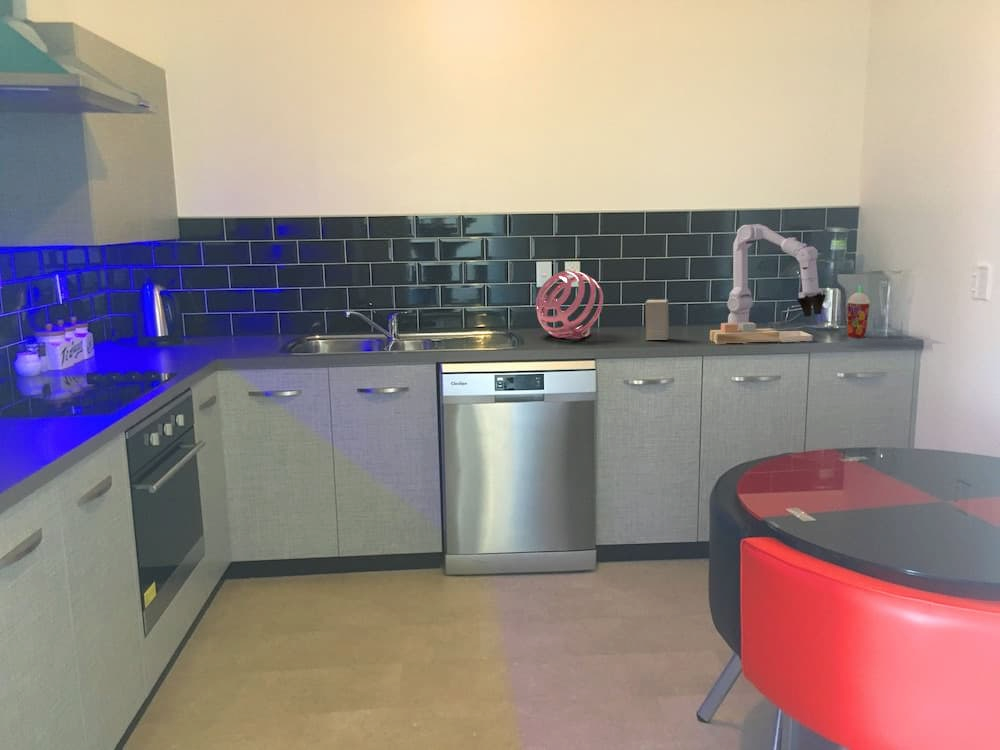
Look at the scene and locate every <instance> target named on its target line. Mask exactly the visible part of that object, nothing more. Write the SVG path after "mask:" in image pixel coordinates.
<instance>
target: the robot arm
mask: <svg viewBox="0 0 1000 750" xmlns="http://www.w3.org/2000/svg"><path fill="white" fill-rule="evenodd" d="M762 239H764V240H766V241H768V242H771V243H773V244H775V245H777V246H780V247H781V250H782V252H784V253H786V254H788V255H789V256H792V257H793V258H796V261H798V263H799V267H800V277H801V278H800V279H801V287H802V288H801V289H802V291H801V292H798V298H796V300H797V302H798V304H799V306H800V307H801V310H802V312H803V315H804V317H807V318H808V317H811V316H812V309H813V313H814V315H822V314H821V313H822V308H823V304H824V301H825V298H826V294H824V291H823V288H822V289H821V288H819V287H820V286H819V277H818V265H817V259H818V258H819V251H818V249H817V248H815V246H812V245H811V246H808V244H807V243H802V242H801V241H798V240H797V238H796V237H787V238H786V237H784V236H782V235H780V234H779V233H777V232H775V231H773V230H772V229H770V228H768V226H766V225H763V224H761V223H756V224H755V223H754V224H743V225H742V226H740V227H739V228H738V229H737V230H736V236H735V240H734V242H733V245H732V247H733V251H732V252H733V253H732V254H733V262H732V263H733V267H732V268H733V288H732V289H731V291H730V292H729V295H728V296H729V297H728V300H727V302H726V303H727V308H728V310H729V312H730V313H729V314H728V316H727V323H736V324H738V329H739V323H740V322H750V310H751V308H752V307H753V305H754V299H753V297H752V291H751V290H750V289H749V286H748V285H749V284H748V273H749V271H748V268H749V267H748V263H749V260H748V258H749V255H748V254H749V253H748V250H749V248H750V247H751V246H752V245H753V244H754V243H756V242H758V241H761V240H762ZM812 307H813V308H812Z"/></svg>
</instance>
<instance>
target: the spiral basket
mask: <svg viewBox="0 0 1000 750" xmlns="http://www.w3.org/2000/svg"><path fill="white" fill-rule="evenodd" d="M569 276H573V277H570V278H569ZM560 280H561V281H562V282H561V283H560V284H558V285H557V286H556V287H555V288H554V289H553V290H552V291H551V293H550V294H549V296H548V294H547V292H549V290H550V289H551V287H552V286H554V285H555V284H556V283H557V282H558V281H560ZM585 281H588V283H589V285H590V286H589V287H590V295H589V300H588V302H587V304H586V306H585V307H584V310H583V311H582V313H580V314H579V316H577V318H576V319H574V320H572V321H569V320H568V319H569V317H570V316H571V315H573V314H574V312H575V311H576V310H577V309H578V307H579V306H580V305H581V303H582V301H583V299H584V297H585V290H586V288H585V287H586V285H585ZM575 282H577V284H578V288H577V289H578V290H577V294H576V296H575V299H574V301H573V302H572V303H571V305H570V306H569V307H567V309H566V310H562V309H561V305H562V304H564V303H565V302H566V301H567V299H568V297H569V296H570V294H571V291H572V283H575ZM596 287H597V288H596ZM597 289H598V291H599V292H598V293H599V302H598V305H597V307H596V311H595V313H594V314H593V316H592V317H591V318H590V320H589V321H588V322H587V323H586V324H585V325H580V324H581V323H582V322H583V321H584V320H585V319H586V318H587V317H588V315H589V314H590V312H591V311H592V309H593V307H594V305H595V301H596V297H597ZM562 290H563V292H562V293H561V296H560V297H558V298H556V295H558V294H559V292H560V291H562ZM603 304H604V293H603V291H602V288H601V286H600V284H599V283H598V281H596V280H595V279H594V278H592V277H590V276H589V275H588V274H587V273H584V272H581V271H576V270H574V271H573V270H572V271H571V270H565V271H564V270H563V271H559V272H558V273H555V274H554V275H552V276H550V277H549V278H548V279H546V280H545V282H544V283H543V285H541V287H540V288H539V291H538V292H537V296H536V298H535V311H536V316H537V320H538V321H539V323H540V325H541V327H542V328H543V329H544V330H545V331H546V332H547V333H548V334H550V335H551V336H552V337H554V338H557V339H560V338H565V339H564V340H566V339H573V338H577V339H578V338H579V339H585V338H587V337H588V336H589V334H591V333H590V332H591V331H590V330H591V327H592V326H593V325H594V323H595V322H596V321H597V319H599V318H598V317H599V316H600V313H601V312H602V309H603ZM553 309H555V310H556V312H557V314H556V315H548V313H549V312H548V311H549V310H553ZM556 322H557V323H558V322H562V324H563V325H562V326H560V327H550V326H548V323H556ZM577 326H578V327H577ZM585 332H586V333H585ZM584 333H585V334H584ZM584 337H585V338H584Z"/></svg>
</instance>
